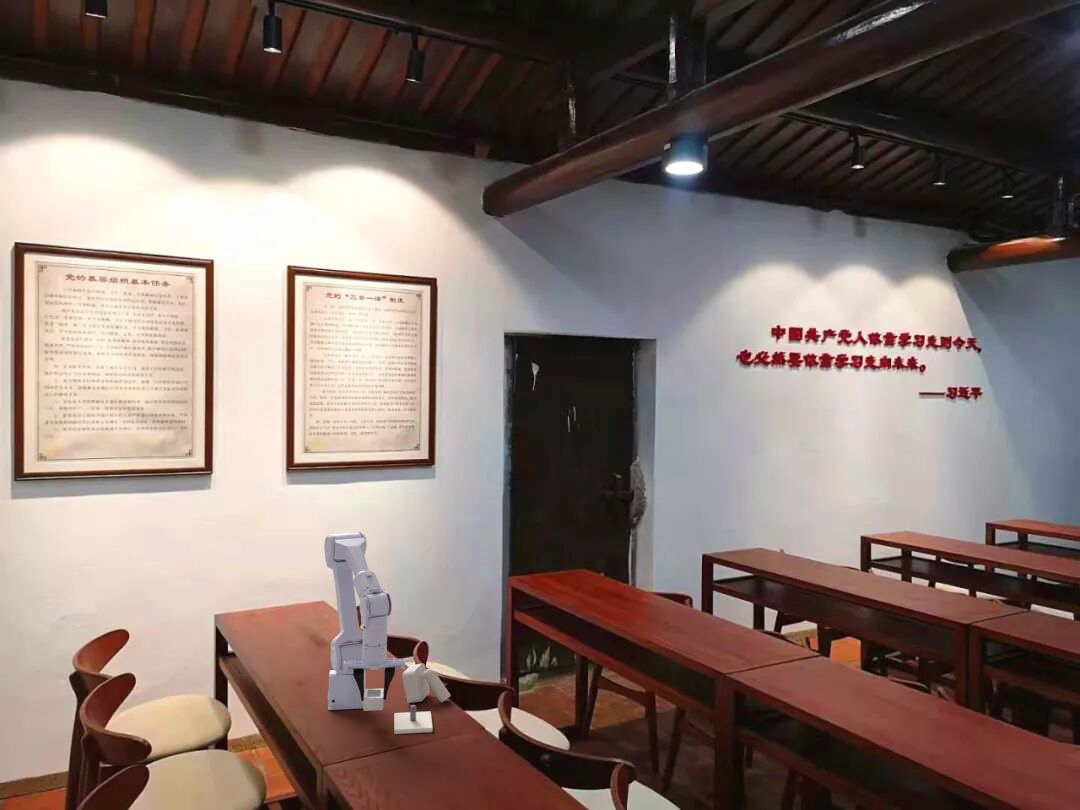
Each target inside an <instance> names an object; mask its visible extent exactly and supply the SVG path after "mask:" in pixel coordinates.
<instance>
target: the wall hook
mask: <svg viewBox="0 0 1080 810" xmlns="http://www.w3.org/2000/svg"><path fill="white" fill-rule="evenodd" d="M401 678H402V683H403V688H404V693H405V696H406V701H407V703H408V704H413V703H418V702H422V701H424V700H425V698H426V697H427V696H429V694H430V688H431V690H432V691H433V693H434V694H435V696H436V697H437V699H438V701H440V703H441V704H442V703H443V702H445V701H446V700H448V699H449V698H450V697H451V693H450V692H449V691H448V689H447V688H446V686H445V685H444V683H443V681H441V679H440V677H439V676H438V674H437V673H436V671H435V670H434V669H432V668H427V669H426V666H425V663H418V664H412V665H411V664H410V665H409V667H407V668H406V669H404V671H403V672H402V677H401Z"/></svg>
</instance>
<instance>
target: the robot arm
mask: <svg viewBox="0 0 1080 810" xmlns="http://www.w3.org/2000/svg"><path fill="white" fill-rule="evenodd" d="M367 546H368V545H367V538H366V535H365V534H364V533H363V531H358V532H346V533H344V532H343V533H334V534H333V533H328V534H327V536H325V539H324V546H323V548H324V550H323V551H324V558H325V563H326V567H327V568H329V569H331V570H332V573H333V577H334V578H333V579H334V586H335V587H334V588H335V595H336V598H335V599H336V605H337V613H338V614H337V615H338V621H339V630H340V631H339V633H338V634H337V635H336V636H335V637H334V638H333V639H332V640H331V643H330V658H329V659H330V664H331V668H332V669H331V670H329V674H328V675H329V676H328V691H327V700H328V701H327V702H328V703H327V706H328V707H327V709H328V710H329V711H333V710H334V711H336V710H355V709H356V710H357V709H358V710H359V709H364V690H365V689H367V688H366V684H367V683H366V682H367V680H366V679H367V678H366V674H367V671H368V670H369V671H370V670H384V676H383V677H384V679H383V680H384V684H383V688H384V693H383V701H387V695H388V691H389V688H390V685H391V683H392V680H393V679H394V677H395V675H396V669H397V670H398V669H400V670H406V669H405V668H406V659H405V658H396V657H395V658H394V657H393V658H392V657H387V650H388V649H387V648H388V617H390V615H391V614H392V609H393V604H392V599H391V595H390V592H388V591H386V590H385V589H382V587H381V584H380V582H379V580H378V578H377V575H376V574H375V572H373V571H372V570H369V569H370V568H369V567H368V563H367V561H366V557H365V556H366V555H365V554H366V550H367ZM353 575H354V576H353ZM356 594H357V596H358V599H359V612H360V618H361V619H360V621H361V625H362V630H361V629H360V625H359V618H358V609H357V600H356Z"/></svg>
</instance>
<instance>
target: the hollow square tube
mask: <svg viewBox="0 0 1080 810" xmlns="http://www.w3.org/2000/svg"><path fill="white" fill-rule="evenodd" d="M383 693H384V687H383V688H381V687H380V688H366V689H365V690H364V708H362V709H363V712H370V711H372V712H373V711H384V700H383Z"/></svg>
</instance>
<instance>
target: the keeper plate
mask: <svg viewBox="0 0 1080 810" xmlns="http://www.w3.org/2000/svg"><path fill="white" fill-rule="evenodd" d="M393 716H394V717H393V721H394V723H393V724H394V725H393V728H394V729H393V733H394V735H400V734H417V733H419V734H420V733H432V732H433V721H432V713H431V710H430V711H429V710H428V711H417V705H416V704H411V705H410V710H409V712H395V713H394V714H393Z"/></svg>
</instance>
